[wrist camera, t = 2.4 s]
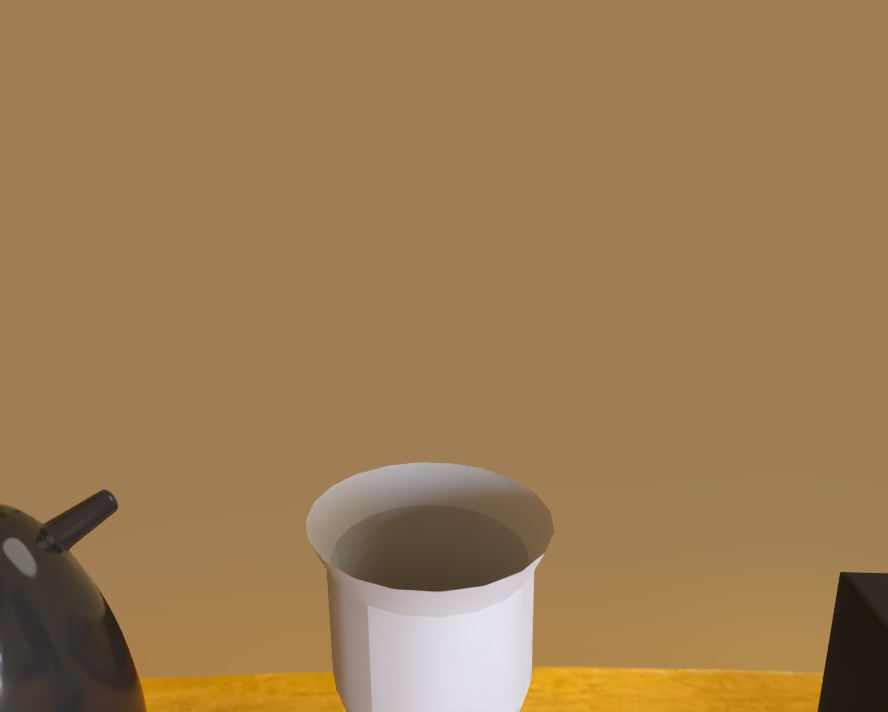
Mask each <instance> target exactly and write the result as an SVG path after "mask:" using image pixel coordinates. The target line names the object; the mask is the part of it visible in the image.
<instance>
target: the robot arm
mask: <svg viewBox="0 0 888 712" xmlns="http://www.w3.org/2000/svg"><path fill="white" fill-rule="evenodd" d="M818 712H888V574H887V573H853V572H852V573H851V572H840V577H839V584H838V590H837V596H836V602H835V608H834V614H833V621H832V628H831V633H830V639H829V645H828V652H827V658H826V665H825V670H824V676H823V683H822V689H821V695H820V701H819V707H818Z"/></svg>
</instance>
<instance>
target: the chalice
mask: <svg viewBox="0 0 888 712" xmlns="http://www.w3.org/2000/svg"><path fill="white" fill-rule="evenodd" d="M306 527H307V533H308V541H309V543H310V544H311V546H312V547H313V549H314V551H315V552H316V554H317V555H318V557H319V558H320V560H321V561H322V563H323V564H324V566H325V567H326V569H327V581H328V594H329V595H328V596H329V611H330V628H331V644H332V659H333V671H334V677H335V684H336V690H337V692H338V694H339V696H340V698H341V700H342V702H343V704H344V707H345V709H346V711H347V712H519V711H520V708H521V706H522V704H523V702H524V699H525V696H526V693H527V691H528V688H529V685H530V682H531V675H532V636H533V635H532V634H533V597H534V569H535V568H536V566H537V565H538V563H539V561H540V560H541V558H542V557H543V555H544V553H545V552H546V549H547V547H548V545H549V542H550V540H551V538H552V535H553V533H554V528H553V523H552V518H551V513H550V511H549V510H548V508H547V507H546V506H545V505H544V503H543V502H542V501H541V500H540V498H539V497H538V496H537V495H536V494H535V493H533V492H532V491H530V490H529V489H527V488H526V487H524V486H523V485H521V484H520V483H518V482H516V481H515V480H512V479H510V478H507V477H504V476H502V475H499V474H496V473H494V472H491V471H488V470H485V469H479V468H474V467H469V466H464V465H458V464H446V463H423V462H422V463H411V464H401V465H391V466H386V467H382V468H378V469H374V470H370V471H367V472H363V473H359V474H356V475H354V476H353V477H350V478H348V479H346V480H344V481H342V482H340V483H338V484H336V485H334V486H332V487H331V488H330V489H329V490H328V491H326V492H325V493H324V494H323V495H322V496H321V497H320V498H318V499H317V500H316V501H315V502H314V504H313V506H312V508H311V511H310V513H309V515H308V517H307V519H306Z"/></svg>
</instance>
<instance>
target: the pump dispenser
mask: <svg viewBox="0 0 888 712" xmlns="http://www.w3.org/2000/svg"><path fill="white" fill-rule="evenodd" d="M117 509H118V501H117V499H116V498H115V496H114V495H113V494H112V493H111V492H110V491H108V490H105V489H103V490H101V491H99V492H97V493H96V494H94V495H92V496H90V497H89V498H87V499H85V500H84V501H82V502H80V503H78V504H77V505H75V506H73V507H71V508H70V509H68V510H66V511H65V512H63V513H61V514H59V515H58V516H56V517H55V518H52V519H51V520H49V521H47V522H45V523H42V522H40V521H39V520H37V519H36V518H34V517H33V516H31V515H30V514H28V513H26V512H25V511H23V510H21V509H19V508H16V507H14V506H11V505H8V504H3V503H0V712H147V710H146V704H145V699H144V695H143V691H142V687H141V684H140V681H139V677H138V674H137V671H136V668H135V665H134V662H133V659H132V657H131V654H130V651H129V648H128V646H127V644H126V641H125V639H124V636H123V634H122V631H121V629H120V627H119V625H118V623H117V621H116V619H115V617H114V615H113V613H112V611H111V609H110V607H109V605H108V604H107V602H106V600H105V598H104V597H103V595H102V593H101V592H100V590H99V589H98V587H97V586H96V584H95V583H94V581H93V580H92V578H91V577H90V575H89V574H88V573H87V571H86V570H85V568H84V567H83V566H82V565H81V563H80V562H79V561H78V560H77V559H76V558H75V556H74V555H73V554H72V552H71V551H70V548H71V547H72V546H73V545H74V544H76V543H77V542H78V541H79V540H81V539H82V538H83V537H84V536H85V535H87V534H88V533H89V532H90V531H92V530H93V529H94V528H95V527H97V526H98V525H99V524H100V523H102V522H103V521H104V520H105V519H107V518H108V517H109V516H110V515H112V514H113V513H114V512H115V511H116V510H117Z"/></svg>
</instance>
